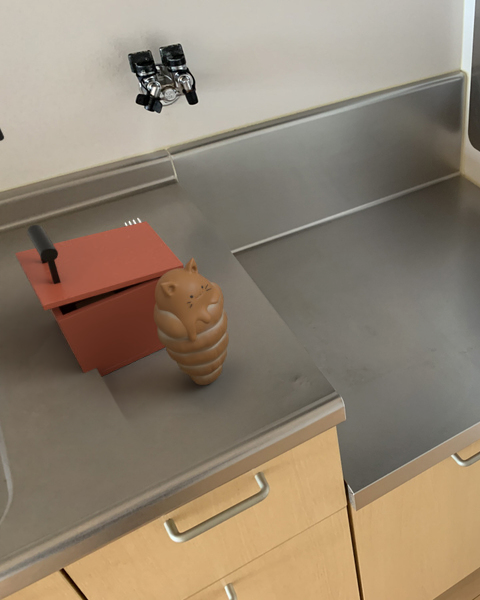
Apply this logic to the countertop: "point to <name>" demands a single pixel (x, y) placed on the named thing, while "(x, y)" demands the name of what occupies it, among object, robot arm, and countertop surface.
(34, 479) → the countertop surface
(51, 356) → the countertop surface
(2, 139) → the robot arm
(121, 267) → the bin lid
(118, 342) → the trash can
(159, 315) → the cat ice cream
